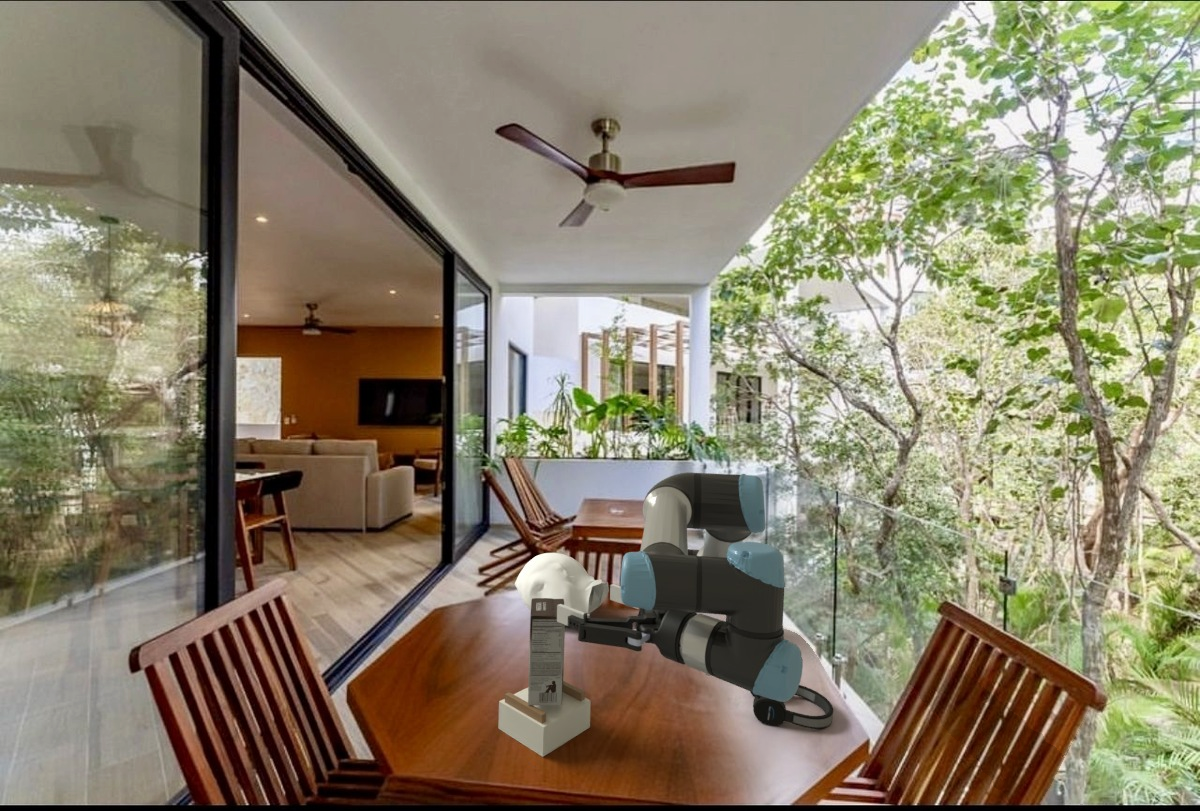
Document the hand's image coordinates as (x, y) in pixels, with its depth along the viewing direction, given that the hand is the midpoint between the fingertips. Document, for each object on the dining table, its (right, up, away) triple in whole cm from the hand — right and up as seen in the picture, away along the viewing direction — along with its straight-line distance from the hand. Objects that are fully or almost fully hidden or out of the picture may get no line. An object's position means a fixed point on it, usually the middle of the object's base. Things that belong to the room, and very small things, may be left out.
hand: (586, 601), depth 94 cm
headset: (+39, -28, +15) cm, 50 cm away
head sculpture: (-10, -27, +61) cm, 67 cm away
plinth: (-8, -26, +6) cm, 28 cm away
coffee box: (-8, -20, +6) cm, 22 cm away
